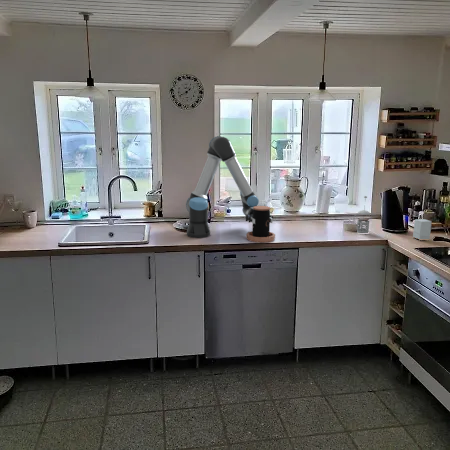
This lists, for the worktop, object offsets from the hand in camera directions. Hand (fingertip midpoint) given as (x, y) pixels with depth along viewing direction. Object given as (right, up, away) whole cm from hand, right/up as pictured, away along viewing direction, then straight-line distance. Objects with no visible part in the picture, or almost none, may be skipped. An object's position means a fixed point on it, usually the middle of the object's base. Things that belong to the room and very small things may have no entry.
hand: (263, 221), depth 266 cm
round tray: (-1, -11, +7) cm, 13 cm away
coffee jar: (-1, -9, +6) cm, 11 cm away
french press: (+68, -8, +27) cm, 74 cm away
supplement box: (+101, -12, +11) cm, 103 cm away
